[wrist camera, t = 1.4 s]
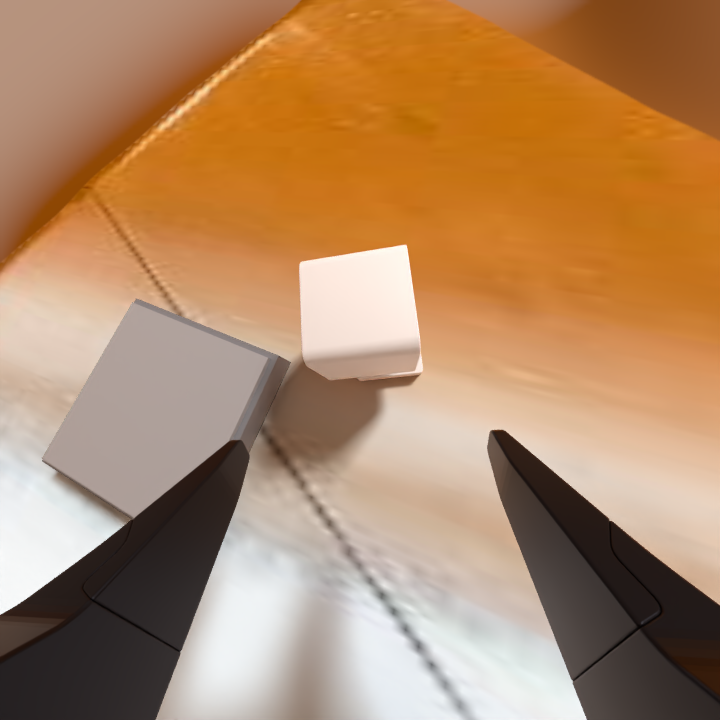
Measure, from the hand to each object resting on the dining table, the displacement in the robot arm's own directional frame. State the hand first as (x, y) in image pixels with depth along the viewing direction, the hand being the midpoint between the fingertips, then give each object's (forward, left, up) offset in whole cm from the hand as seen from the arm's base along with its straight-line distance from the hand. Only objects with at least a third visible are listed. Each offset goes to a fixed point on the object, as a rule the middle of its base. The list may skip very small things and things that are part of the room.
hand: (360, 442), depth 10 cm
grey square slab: (-6, +18, -13) cm, 23 cm away
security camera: (+6, +3, -13) cm, 15 cm away
